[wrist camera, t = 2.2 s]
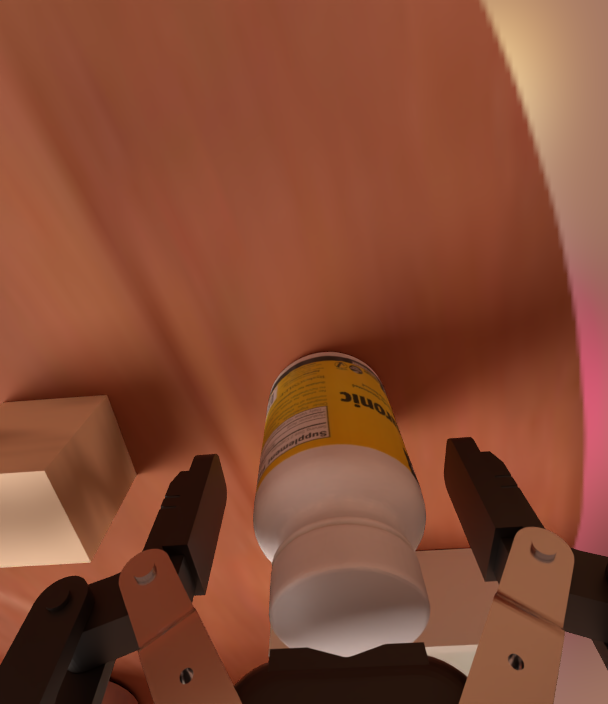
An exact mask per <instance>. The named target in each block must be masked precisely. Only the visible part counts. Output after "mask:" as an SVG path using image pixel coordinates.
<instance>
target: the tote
mask: <svg viewBox="0 0 608 704" xmlns="http://www.w3.org/2000/svg"><path fill="white" fill-rule="evenodd" d="M415 554H416V556H417V558H418V560H419V563H420V567H421V572H422V576H423V579H424V583H425V586H426V590H427V594H428V597H429V602H430V618H429V621H428V624H427V626H426V628H425V629H424V631H423V632H422V634H421V635H420V636H419V637H418V638H417V639H416V640H415V641H414V642H412V643H416V642H424V644H425V649H426V653H427V655H428V656H432V657H435V658H437V659H440V660H442V661H445V662H446V663H448V664H450V665H452V666H454V667H455V668H457V669H458V670H459V671H461V672H462V673H464V674H465V675H466V676H467V677H468V674H469V671H470V668H471V665H472V662H473V659H474V656H475V653H476V650H477V647H478V644H479V641H480V637H481V634H482V631H483V628H484V625H485V622H486V619H487V616H488V613H489V610H490V607H491V604H492V601H493V598H494V595H495V593H497V590H498V587H499V584H498V582H497V581H490V582H485V581H484V578H483V576H482V574H481V571H480V569H479V566H478V564H477V561H476V559H475V557H474V554H473V552H472V549H471V548H465V549H447V550H430V551H415ZM282 648H289V647H288V646H287V645H285V644H284V643H283V642H282V641H281V640H280V639H279V638H278V637H277V635H276V634H275V633H274V631H273V629H272V626H271V628H270V642H269V653H270V649H282Z"/></svg>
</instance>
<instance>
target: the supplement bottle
mask: <svg viewBox="0 0 608 704" xmlns="http://www.w3.org/2000/svg"><path fill="white" fill-rule="evenodd" d="M253 522H254V531H255V535H256V538H257V541H258V543H259V545H260V547H261V549H262V551H263V552H264V554H265V555H266V557H267V558H268V559H269V560H270V561H271V562H272V572H271V584H270V602H269V618H270V624H271V626H272V629H273V631H274V633H275V634H276V635H277V637H278V638H279V639H280V640H281V641H282V642H283V643H284V644H285V645H287V646H288V647H289V648H304V647H308V648H311V649H315V650H319V651H323V652H327V653H331V654H334V655H338V656H342V657H350V656H353V655H356V654H359V653H362V652H364V651H367V650H370V649H373V648H375V647H378V646H381V645H384V644H393V643H412V642H414V641H415V640H416V639H417V638H418V637H419V636H420V635H421V634H422V632H423V631H424V629H425V628H426V626H427V624H428V621H429V618H430V602H429V597H428V594H427V590H426V586H425V583H424V579H423V576H422V572H421V567H420V563H419V560H418V558H417V556H416V554H415V550H416V549H417V547H418V545H419V544H420V541H421V539H422V537H423V533H424V529H425V522H426V511H425V504H424V500H423V496H422V493H421V489H420V485H419V483H418V480H417V478H416V475H415V472H414V470H413V467H412V464H411V461H410V459H409V456H408V453H407V451H406V448H405V445H404V442H403V439H402V437H401V434H400V431H399V428H398V426H397V423H396V420H395V417H394V414H393V412H392V409H391V406H390V403H389V400H388V397H387V395H386V392H385V389H384V387H383V385H382V383H381V381H380V379H379V377H378V376H377V375H376V373H375V372H374V371H373V370H372V369H371V368H370V367H369V366H368V365H367V364H365V363H364V362H362V361H361V360H359V359H357V358H355V357H353V356H350V355H347V354H343V353H338V352H321V353H315V354H311V355H308V356H305V357H302V358H300V359H298V360H296V361H295V362H293V363H292V364H290V365H289V366H288V367H286V368H285V369H284V370H283V371H282V372H281V373H280V375H279V376H278V377H277V379H276V381H275V382H274V384H273V386H272V390H271V393H270V397H269V402H268V408H267V416H266V423H265V430H264V438H263V445H262V452H261V458H260V466H259V474H258V481H257V489H256V496H255V502H254V514H253Z"/></svg>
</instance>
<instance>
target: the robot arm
mask: <svg viewBox="0 0 608 704" xmlns="http://www.w3.org/2000/svg"><path fill="white" fill-rule="evenodd" d="M444 480H445V485H446V488H447V491H448V494H449V496H450V498H451V501H452V503H453V506H454V508H455V511H456V513H457V515H458V518H459V520H460V523H461V525H462V528H463V530H464V532H465V535H466V537H467V540H468V542H469V544H470V547H471V549H472V552H473V554H474V557H475V559H476V561H477V564H478V566H479V569H480V571H481V574H482V576H483V578H484V581H485V582H490V581H497V582H498V584H499V587H498V590H497V593H495V595H494V598H493V601H492V604H491V607H490V610H489V613H488V616H487V619H486V622H485V625H484V628H483V631H482V634H481V637H480V641H479V644H478V647H477V650H476V653H475V656H474V659H473V662H472V665H471V668H470V671H469V674H468V677H467V676H466V675H465V674H464V673H462V672H461V671H459V670H458V669H457V668H455V667H454V666H452V665H450V664H448V663H446V662H445V661H442V660H440V659H437V658H435V657H432V656H428V655H427V653H426V649H425V644H424V642H416V643H393V644H384V645H381V646H378V647H375V648H373V649H370V650H367V651H364V652H362V653H359V654H356V655H353V656H350V657H342V656H338V655H334V654H331V653H327V652H323V651H319V650H315V649H311V648H308V647H304V648H282V649H270V653H269V662H268V663H265V664H263V665H261V666H259V667H257V668H255V669H253V670H252V671H251V672H249V673H248V674H246V675H245V676H244V677H243V678H242V679H241V680H239V681H238V682H237V683H236V684H235V686H233V684H232V682H231V680H230V678H229V676H228V674H227V672H226V670H225V667H224V665H223V663H222V661H221V659H220V657H219V655H218V653H217V651H216V649H215V647H214V645H213V643H212V641H211V639H210V637H209V635H208V633H207V631H206V629H205V627H204V625H203V623H202V621H201V619H200V616H199V614H198V613H197V611H196V609H195V608H194V607H193V605H192V601H193V597H194V596H196V595H205V594H206V590H207V585H208V581H209V576H210V572H211V567H212V563H213V559H214V554H215V550H216V545H217V541H218V536H219V532H220V528H221V523H222V519H223V514H224V510H225V506H226V500H227V488H226V483H225V479H224V475H223V471H222V467H221V463H220V460H219V456H218V455H217V454H209V455H196V456H195V457H194V459H193V462H192V465H191V467H190V470H189V471H181V472H180V473H179V474H178V475H177V476H176V477H175V478H174V480H173V481H172V482H171V483H170V485H169V488H168V490H167V493H166V495H165V499H164V500H163V502H162V505H161V509H160V510H159V512H158V515H157V517H156V520H155V522H154V525H153V527H152V529H151V532H150V534H149V537H148V539H147V542H146V544H145V547H144V549H143V551H142V552H141V553H139V554H137V555H136V556H134V557H133V558H132V559H130V560H129V562H128V563H127V564H126V565H125V566H124V568H123V570H122V571H121V572H120V573H118V574H116V575H114V576H111V577H108V578H105V579H103V580H100V581H97V582H94V583H92V584H89V585H88V584H87V582H86V581H85V579H83V578H82V577H79V576H69V577H65V578H62V579H60V580H58V581H56V582H55V583H53V584H52V585H50V586H49V587H48V588H47V589H45V590H44V591H43V592H42V593H41V594H40V596H39V597H38V598H37V599H36V601H35V603H34V604H33V606H32V608H31V610H30V612H29V613H28V615H27V617H26V619H25V621H24V623H23V624H22V626H21V628H20V630H19V632H18V634H17V635H16V637H15V639H14V641H13V643H12V645H11V647H10V648H9V650H8V652H7V654H6V656H5V658H4V659H3V661H2V663H1V665H0V704H138V702H137V700H136V699H135V697H134V696H133V695H132V694H131V693H130V692H128V691H127V690H126V689H124V688H122V687H121V686H119V685H117V684H115V683H113V682H110V681H109V679H110V676H111V673H112V670H113V667H114V663H115V660H116V659H117V658H120V657H122V656H124V655H127V654H129V653H132V652H134V651H137V650H138V654H139V657H140V661H141V664H142V667H143V670H144V673H145V676H146V679H147V683H148V686H149V689H150V692H151V695H152V698H153V701H154V704H553V702H554V697H555V691H556V685H557V679H558V672H559V667H560V661H561V655H562V648H563V642H564V636H565V631H566V632H569V633H573V634H577V635H580V636H583V637H587V638H590V639H592V641H593V643H594V645H595V647H596V649H597V650H598V652H599V654H600V656H601V658H602V660H603V662H604V664H605V666H606V668H607V670H608V557H606V556H601V555H597V554H592V553H588V552H583V551H579V550H576V549H573V548H570V547H569V546H568V544H567V543H566V542H565V541H564V540H563V539H562V538H560V537H559V536H558V535H556V534H554V533H553V532H551V531H549V530H546V529H545V528H544V526H543V525H542V523H541V522H540V520H539V519H538V517H537V515H536V514H535V512H534V511H533V509H532V507H531V506H530V504H529V503H528V501H527V500H526V498H525V496H524V495H523V493H522V492H521V490H520V488H518V487H517V484H516V482H515V480H514V479H513V477H511V474H510V472H509V471H508V469H507V468H506V466H505V465H504V463H503V462H502V461H501V460H500V459H499V458H497V457H496V456H495V455H494V454H492V453H491V452H490V451H488V452H480V450H479V448H478V447H477V445H476V443H475V441H474V440H473V439H472V438H471V437H464V438H450V439H448V440H447V445H446V455H445V465H444Z"/></svg>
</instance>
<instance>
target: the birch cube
mask: <svg viewBox="0 0 608 704" xmlns="http://www.w3.org/2000/svg"><path fill="white" fill-rule="evenodd" d="M136 475H137V474H136V472H135V469H134V466H133V464H132V461H131V458H130V456H129V453H128V450H127V447H126V445H125V442H124V439H123V437H122V434H121V431H120V429H119V426H118V423H117V420H116V418H115V415H114V412H113V410H112V407H111V404H110V402H109V399H108V396H107V395H99V396H85V397H71V398H57V399H43V400H30V401H16V402H3V403H2V404H1V405H0V567H18V566H36V565H53V564H71V563H89V562H91V561H92V559H93V557H94V555H95V553H96V552H97V550H98V548H99V546H100V544H101V542H102V540H103V538H104V536H105V534H106V532H107V531H108V529H109V527H110V525H111V523H112V521H113V519H114V517H115V515H116V513H117V511H118V510H119V508H120V506H121V504H122V502H123V500H124V498H125V496H126V494H127V492H128V491H129V489H130V487H131V485H132V483H133V481H134V479H135V477H136Z"/></svg>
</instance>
